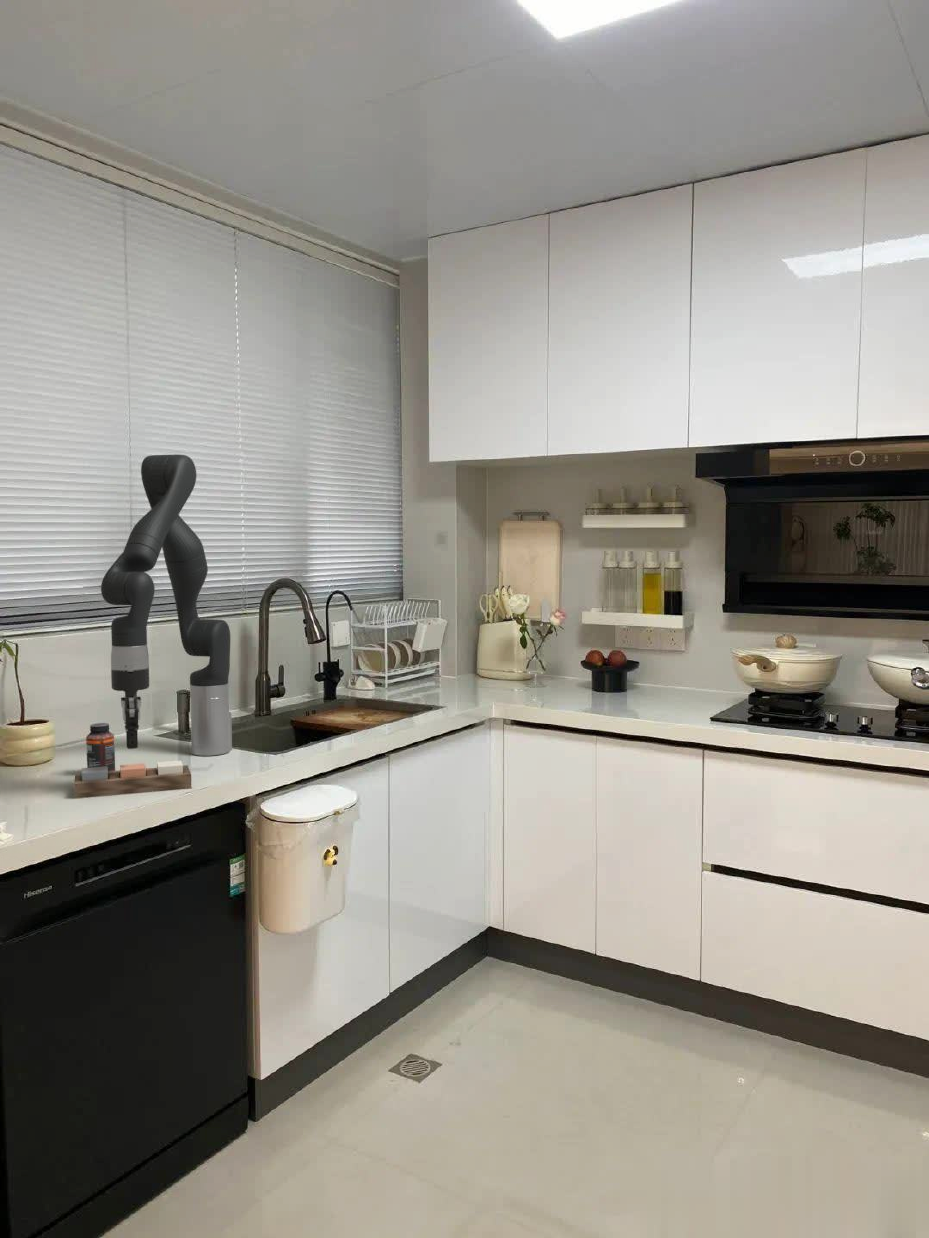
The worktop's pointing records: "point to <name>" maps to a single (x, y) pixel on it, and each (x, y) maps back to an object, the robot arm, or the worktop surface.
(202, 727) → the robot arm
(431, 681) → the worktop surface
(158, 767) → the cream key
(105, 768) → the slate key
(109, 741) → the supplement bottle
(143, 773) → the terracotta key
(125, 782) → the key console
